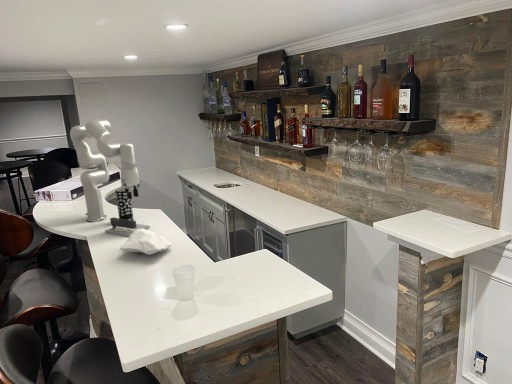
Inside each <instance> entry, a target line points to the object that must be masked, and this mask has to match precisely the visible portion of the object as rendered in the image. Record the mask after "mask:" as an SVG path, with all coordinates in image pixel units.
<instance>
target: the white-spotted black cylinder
mask: <svg viewBox="0 0 512 384" xmlns="http://www.w3.org/2000/svg"><path fill="white" fill-rule="evenodd" d="M115 198H116V203H117V211H118V212H117V213H118V217H119V218H120V219H127V220H134V219H135V218H134V213H133V206H132V199H128V198H127V192H125V190H123V189H121V188H120V189H119V188H118V189H116V190H115ZM134 221H135V220H134Z"/></svg>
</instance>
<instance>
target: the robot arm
mask: <svg viewBox="0 0 512 384" xmlns="http://www.w3.org/2000/svg"><path fill="white" fill-rule="evenodd" d="M111 130H112V124H111V122H109V120H107V119H105V118H103V119H101V118H100V119H91V120H88V121H86V123H85V124H79V125H75V126H73V127H71V128H70V132H69V136H70V139H71V142H72V144H73V145H74V147H75V150H76V151H75V152H76V155H77V159H78V160H77V161H78V164H79V167H80V168H82V169H83V170H86V171H84V172H82V173H81V174H80V177H79V179H80V183H81V185H82V189H83V194H84V199H85V206H86V213H85V216H87V217H86V218H85V220H88V221H96V222H98V221H97V220H101V219H104V218H106V217H107V218H108V216H107V214H105V212H104V206H103V205H104V204H103V199H102V192H101V190H100V189H99V187H98V186H97V185H102V184H105V183H108V182H109V180H110V173H109V168H108V164H107V159H106V158H108V159H111V158H117V157H120V163H121V169H120V183H121V186H120V189H123V190H125V192H127V198H128V199H131V200H132V199H133V197H134V198H136V197H137V198H138V197H139V188H140V186H141V184H142V181H141V179H140V174H139V170H138V167H137V162H136V156H135V149H134V148H135V147H134V144H133V143H129V142H128V143H126V142H115V143H109V141H110V140H111V138H112V135H111ZM87 139H94V140H96V146H97V149H98V151H94V152H92V147H91V144H89V142H87ZM108 143H109V144H108ZM93 168H94V169H93ZM95 168H96V169H95ZM88 169H92V170H88ZM131 187H132V188H133V190H132V191H131ZM132 193H133V195H132ZM107 218H106V219H107ZM104 220H105V219H104ZM88 221H87V222H88ZM101 221H102V220H101Z"/></svg>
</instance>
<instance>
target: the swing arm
mask: <svg viewBox="0 0 512 384" xmlns="http://www.w3.org/2000/svg"><path fill="white" fill-rule="evenodd" d="M109 222H110V226H111V227H112V226H118V227H124V228H131V229H134V228H137V227H136V224H137V221H136V220H127V219H120V218H118V217H110V218H109Z"/></svg>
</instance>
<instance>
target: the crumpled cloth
mask: <svg viewBox="0 0 512 384" xmlns="http://www.w3.org/2000/svg"><path fill="white" fill-rule="evenodd" d="M157 234H158V233H156V232H154V231H150V230H148V229H147V230H146V229H143V228H142V229H136V230H135V231H134V232H133V233H132V234H131V235H130V237H127V240H126V241H125V242H124V244H122V245H121V246H120V250H121V251H124V252H130V253H131V252H132V253H133V252H134V253H135V252H137V253H144V254H145V255H153V254H156V253H158V252H162V251H165V250H167V248H171V246H172V245H173V244H172V243H171V242H170V241H168V240H167V239H166V238H164V237H163V236H162V235H157Z"/></svg>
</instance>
